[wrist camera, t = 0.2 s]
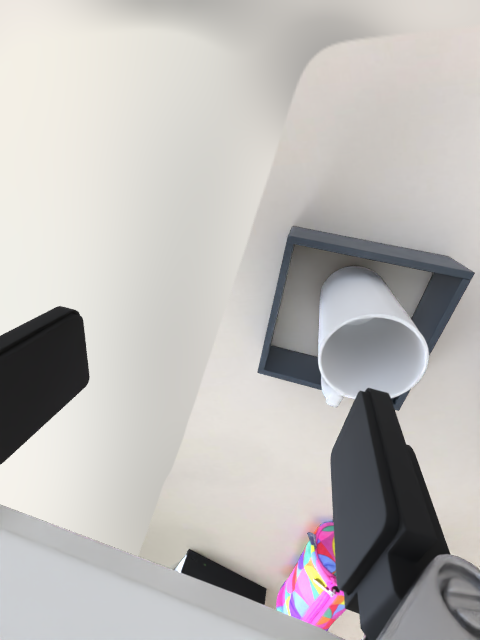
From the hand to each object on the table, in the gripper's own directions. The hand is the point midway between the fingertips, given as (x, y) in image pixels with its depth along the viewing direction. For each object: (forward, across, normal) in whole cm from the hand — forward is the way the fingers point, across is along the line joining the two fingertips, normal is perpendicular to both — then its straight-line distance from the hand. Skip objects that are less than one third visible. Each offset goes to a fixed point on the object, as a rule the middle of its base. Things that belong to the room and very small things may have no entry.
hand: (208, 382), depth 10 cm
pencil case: (+22, -18, +49) cm, 57 cm away
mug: (+22, -8, +5) cm, 24 cm away
